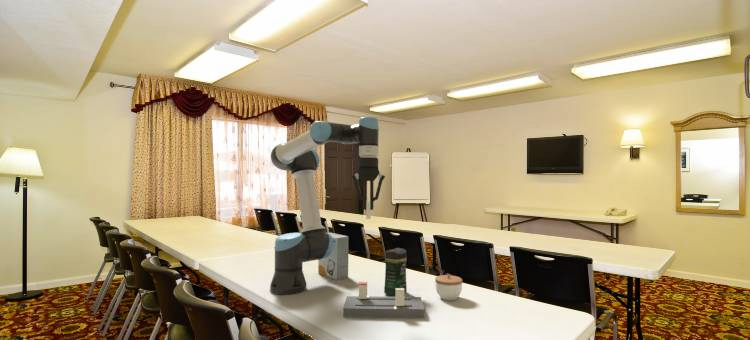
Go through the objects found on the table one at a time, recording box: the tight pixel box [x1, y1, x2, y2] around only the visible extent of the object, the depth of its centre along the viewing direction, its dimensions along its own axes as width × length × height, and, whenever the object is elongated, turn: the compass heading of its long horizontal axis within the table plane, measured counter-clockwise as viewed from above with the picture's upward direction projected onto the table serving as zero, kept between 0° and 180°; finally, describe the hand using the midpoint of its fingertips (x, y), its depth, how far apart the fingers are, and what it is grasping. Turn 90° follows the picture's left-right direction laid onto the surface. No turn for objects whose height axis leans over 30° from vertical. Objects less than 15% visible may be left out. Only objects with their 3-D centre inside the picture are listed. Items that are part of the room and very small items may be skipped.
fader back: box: [358, 281, 368, 299], centre depth 136 cm, size 3×2×6 cm
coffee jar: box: [383, 247, 408, 297], centre depth 152 cm, size 10×8×19 cm
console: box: [342, 295, 426, 319], centre depth 132 cm, size 28×14×3 cm, turn 89°
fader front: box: [395, 288, 405, 306], centre depth 128 cm, size 3×2×6 cm
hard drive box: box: [317, 232, 349, 281], centre depth 180 cm, size 16×8×20 cm, turn 43°
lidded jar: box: [434, 273, 463, 302], centre depth 146 cm, size 11×11×9 cm
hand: (368, 218), depth 141 cm, fingers closed
